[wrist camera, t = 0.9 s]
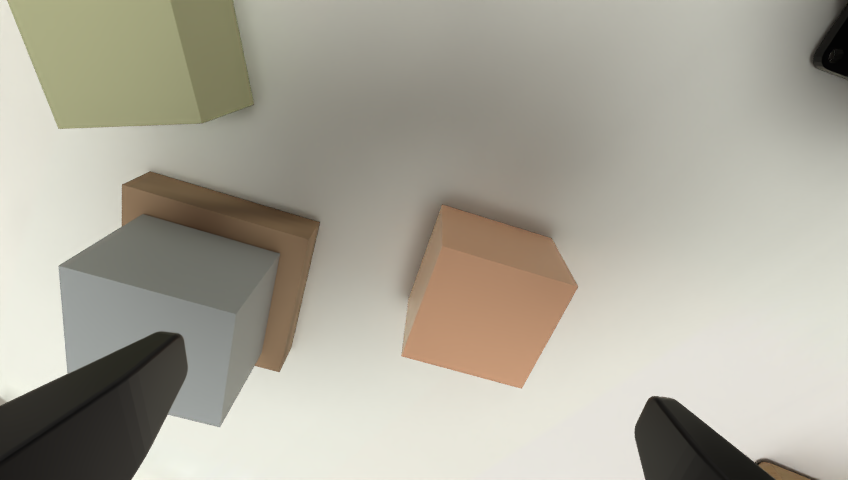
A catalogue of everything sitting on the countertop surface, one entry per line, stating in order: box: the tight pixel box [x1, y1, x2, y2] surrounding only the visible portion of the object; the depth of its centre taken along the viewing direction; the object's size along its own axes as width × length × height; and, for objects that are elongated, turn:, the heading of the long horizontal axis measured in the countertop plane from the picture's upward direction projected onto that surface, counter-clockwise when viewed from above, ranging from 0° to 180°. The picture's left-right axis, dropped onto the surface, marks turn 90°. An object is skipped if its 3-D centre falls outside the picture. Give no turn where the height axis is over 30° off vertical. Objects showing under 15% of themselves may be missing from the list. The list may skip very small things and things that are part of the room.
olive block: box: [7, 0, 254, 129], centre depth 15 cm, size 5×5×4 cm
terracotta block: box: [401, 205, 578, 389], centre depth 19 cm, size 6×6×4 cm
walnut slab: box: [122, 172, 320, 372], centre depth 21 cm, size 8×8×2 cm
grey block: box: [59, 214, 280, 427], centre depth 18 cm, size 6×6×4 cm
